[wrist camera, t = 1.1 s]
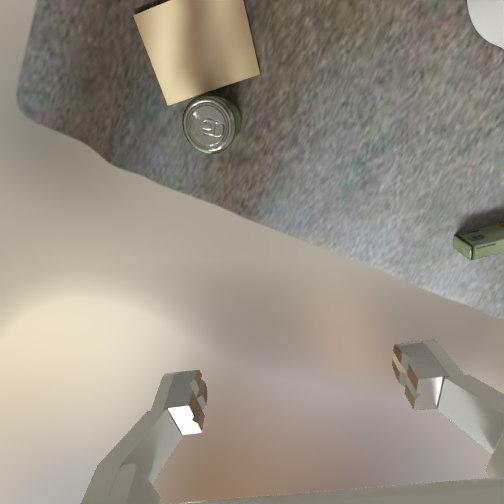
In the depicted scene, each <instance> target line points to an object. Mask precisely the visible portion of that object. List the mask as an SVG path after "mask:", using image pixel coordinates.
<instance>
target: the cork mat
mask: <svg viewBox="0 0 504 504" xmlns="http://www.w3.org/2000/svg"><path fill="white" fill-rule="evenodd" d="M133 16H134V18H135V21H136V24H137V26H138V29H139V31H140V34H141V37H142V39H143V42H144V44H145V47H146V50H147V52H148V55H149V57H150V60H151V63H152V65H153V68H154V71H155V73H156V76H157V78H158V81H159V84H160V86H161V89H162V91H163V94H164V97H165V99H166V102H167V104H168V105H172V104H174V103H177V102H180V101H183V100H186V99H189V98H192V97H195V96H198V95H201V94H203V93H206V92H209V91H212V90H215V89H218V88H221V87H224V86H227V85H230V84H233V83H235V82H238V81H241V80H244V79H247V78H250V77H253V76H256V75H259V74H260V72H259V67H258V63H257V58H256V54H255V50H254V45H253V41H252V36H251V32H250V28H249V23H248V19H247V14H246V10H245V5H244V1H243V0H170V1H168V2H165V3H163V4H160V5H158V6H155V7H153V8H150V9H148V10H146V11H143V12H141V13H138V14H136V15H133Z"/></svg>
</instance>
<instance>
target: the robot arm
mask: <svg viewBox="0 0 504 504" xmlns="http://www.w3.org/2000/svg"><path fill="white" fill-rule="evenodd" d="M467 5H468V10H469V15H470V18H471V20H472V23H473V25H474V27H475V28H476V30H477V31H478V33H479V34H480V35H481V36H482V37H483V38H484V39H486V40H487V41H489V42H490V43H492V44H495V45H497V46H499V47H501V48H503V49H504V0H467ZM393 352H394V354H395V356H394V357H393V358H392V366H393V370H394V373H395V376H396V378H397V380H398V382H399V383H400V384H401V385H403V386H404V387H405V395H406V397H407V399H408V401H409V403H410V404H411V406H412V408H413V410H424V409H438V410H439V411H440V412H441V413H442V414H443V415H445V416H446V417H447V418H448V419H449V420H451V421H452V422H453V423H454V424H456V425H457V426H458V427H459V428H461V429H462V430H463V431H464V432H465V433H467V434H468V435H469V436H470V437H472V438H473V439H474V440H475V441H476V442H478V443H479V444H480V445H481V446H483V447H484V448H485V449H486V450H487V451H489V452H490V453H491V454H492V457H491V459H490V461H489V463H488V465H487V468H486V472H487V473H488V475H489V476H490V478H485V479H474V480H473V479H472V480H459V481H446V482H435V483H421V484H408V485H396V486H383V487H370V488H357V489H344V490H332V491H319V492H307V493H293V494H281V495H269V496H255V497H243V498H231V499H218V500H206V501H192V502H180V503H167V504H504V394H503V393H501V392H499V391H497V390H495V389H494V388H492V387H490V386H488V385H487V384H485V383H483V382H481V381H480V380H478V379H476V378H474V377H472V376H470V375H464V373H463V372H462V371H461V370H460V368H459V367H458V366H457V365H456V363H455V362H454V361H453V360H452V359H451V357H450V356H449V355H448V354H447V352H446V351H445V350H444V349H443V347H442V346H441V345H440V344H439V342H438V341H436V340H435V339H432V340H425V341H415V342H408V343H402V344H395V345H394V346H393ZM201 377H202V374H201V372H200V370H195V371H185V372H174V373H167V374H164V376H163V378H162V380H161V383H160V386H159V388H158V391H157V394H156V397H155V400H154V403H153V406H152V409H151V411H148V412H146V414H145V415H144V416H143V417H142V418H141V419H140V420H139V421H138V422H137V423H136V424H135V425H134V427H133V428H132V429H131V430H130V431H129V432H128V433H127V434H126V435H125V436H124V438H123V439H122V440H121V441H120V442H119V443H118V444H117V445H116V446H115V447H114V448H113V450H112V451H111V452H110V453H109V454H108V455H107V456H106V457H105V458H104V459H103V460H102V461H101V462H100V464H99V465H98V466H97V468H96V470H95V473H94V475H93V477H92V479H91V482H90V484H89V486H88V488H87V491H86V493H85V495H84V497H83V500H82V502H81V504H159V503H160V499H161V497H160V494H159V493H158V492H157V490H156V489H155V488H154V487H153V485H152V483H153V481H154V480H155V478H156V477H157V475H158V473H159V472H160V470H161V469H162V467H163V465H164V464H165V463H166V461H167V459H168V458H169V456H170V455H171V453H172V452H173V450H174V449H175V447H176V446H177V444H178V442H179V441H180V439H181V438H182V435H187V434H194V433H201V432H202V429H203V423H204V417H205V415H204V413H203V411H202V410H203V409H204V407H205V406H206V405H207V386H206V383H205V382H204V381H203V380H201Z"/></svg>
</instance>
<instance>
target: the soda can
mask: <svg viewBox="0 0 504 504" xmlns="http://www.w3.org/2000/svg"><path fill="white" fill-rule="evenodd" d="M241 123H242V119H241V114H240V111H239V109H238V107H237V106H236V105H235V104H234V103H233V102H232V101H230V100H229V99H226V98H222V97H217V96H213V95H202V96H199V97H196V98H195V99H193V100H192V101H191V102H190V103H189V104H188V105H187V107H186V109H185V111H184V114H183V130H184V133H185V136H186V138H187V140H188V141H189V143H190V144H191V145H192V146H193V147H194V148H196V149H197V150H199V151H201V152H203V153H206V154H216V153H219V152H222V151H224V150H225V149H226V148H228V147H229V145H230V144H231V143H232V141H233V140H234V138H235V137H236V136H237V134H238V133H239V131H240V128H241Z"/></svg>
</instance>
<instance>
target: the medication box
mask: <svg viewBox="0 0 504 504" xmlns="http://www.w3.org/2000/svg"><path fill="white" fill-rule="evenodd" d="M453 247H454V249H456V250H457V251H458V252H460V253H461V254H462V255H463V256H465V257H466V258H467V259H469V260H474V259H479V258H483V257H487V256H491V255H495V254H499V253H503V252H504V222H503V223H499V224H495V225H491V226H487V227H483V228H480V229H476V230H472V231H468V232H464V233H460V234H456V235H454V238H453Z"/></svg>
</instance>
